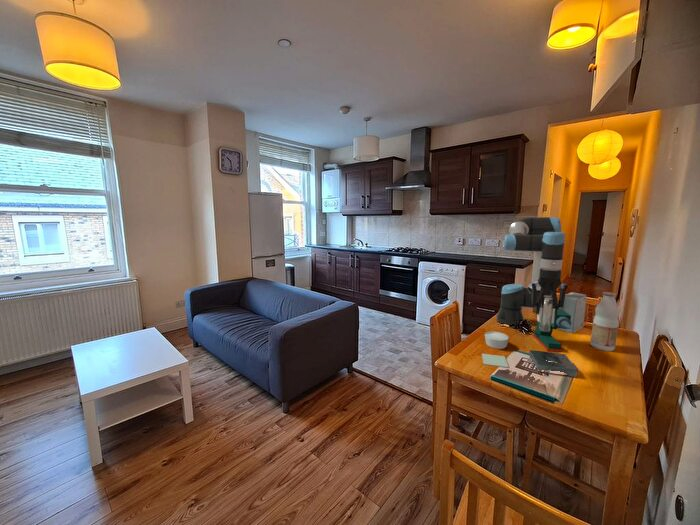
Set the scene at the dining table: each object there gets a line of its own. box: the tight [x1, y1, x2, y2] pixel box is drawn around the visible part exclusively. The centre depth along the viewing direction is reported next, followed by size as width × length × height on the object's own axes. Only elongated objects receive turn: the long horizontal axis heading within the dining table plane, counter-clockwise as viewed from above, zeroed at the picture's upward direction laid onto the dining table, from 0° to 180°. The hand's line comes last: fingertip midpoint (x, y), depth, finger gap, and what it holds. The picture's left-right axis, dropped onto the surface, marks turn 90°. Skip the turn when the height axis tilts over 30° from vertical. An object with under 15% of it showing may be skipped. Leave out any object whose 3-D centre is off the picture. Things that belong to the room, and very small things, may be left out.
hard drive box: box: [557, 291, 587, 334], centre depth 167 cm, size 16×8×20 cm, turn 124°
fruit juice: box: [590, 291, 621, 352], centre depth 143 cm, size 9×9×28 cm
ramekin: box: [484, 331, 510, 350], centre depth 149 cm, size 11×11×5 cm
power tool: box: [531, 301, 573, 353], centre depth 142 cm, size 32×7×20 cm, turn 168°
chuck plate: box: [528, 349, 578, 378], centre depth 128 cm, size 14×14×4 cm
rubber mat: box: [481, 353, 509, 368], centre depth 134 cm, size 10×10×1 cm
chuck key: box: [539, 295, 554, 332], centre depth 125 cm, size 4×8×15 cm, turn 162°
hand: (545, 321), depth 126 cm, fingers closed on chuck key, 4 cm apart
